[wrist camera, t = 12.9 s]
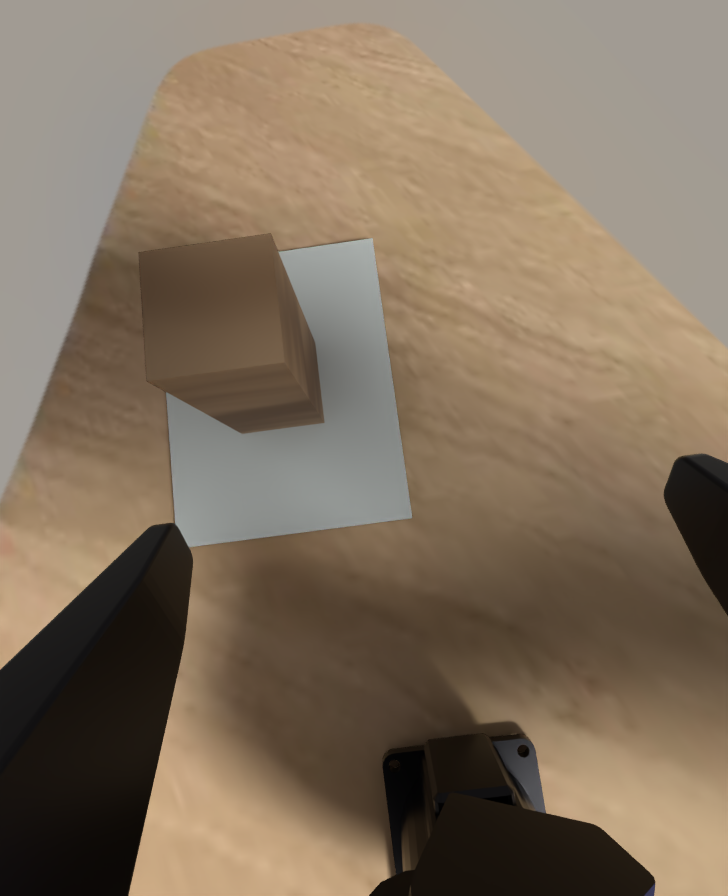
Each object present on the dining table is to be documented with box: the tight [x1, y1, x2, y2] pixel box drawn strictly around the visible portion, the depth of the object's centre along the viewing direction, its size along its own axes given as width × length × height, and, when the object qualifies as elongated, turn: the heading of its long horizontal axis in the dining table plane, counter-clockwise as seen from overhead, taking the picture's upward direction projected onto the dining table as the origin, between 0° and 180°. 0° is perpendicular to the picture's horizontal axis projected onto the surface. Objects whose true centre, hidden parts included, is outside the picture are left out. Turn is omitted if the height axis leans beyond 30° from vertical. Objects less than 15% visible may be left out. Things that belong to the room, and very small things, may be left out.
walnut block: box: [139, 233, 325, 434], centre depth 18 cm, size 4×4×9 cm
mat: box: [166, 238, 412, 547], centre depth 23 cm, size 14×11×1 cm
